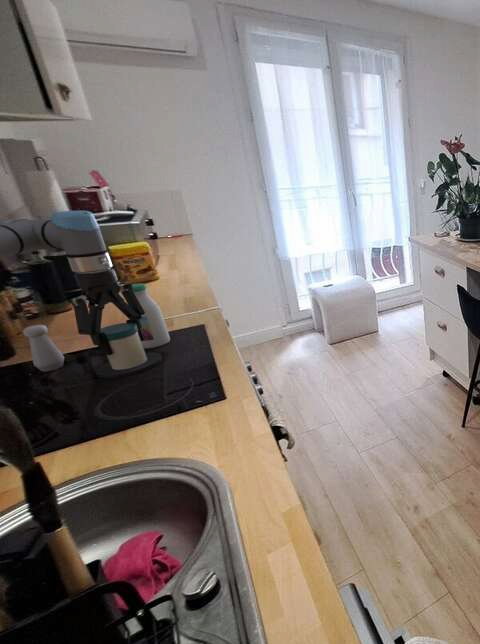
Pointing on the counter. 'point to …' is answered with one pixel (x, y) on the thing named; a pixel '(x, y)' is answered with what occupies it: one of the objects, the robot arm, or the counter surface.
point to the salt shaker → (43, 349)
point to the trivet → (109, 373)
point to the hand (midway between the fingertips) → (123, 347)
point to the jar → (126, 352)
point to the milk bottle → (150, 319)
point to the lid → (119, 330)
